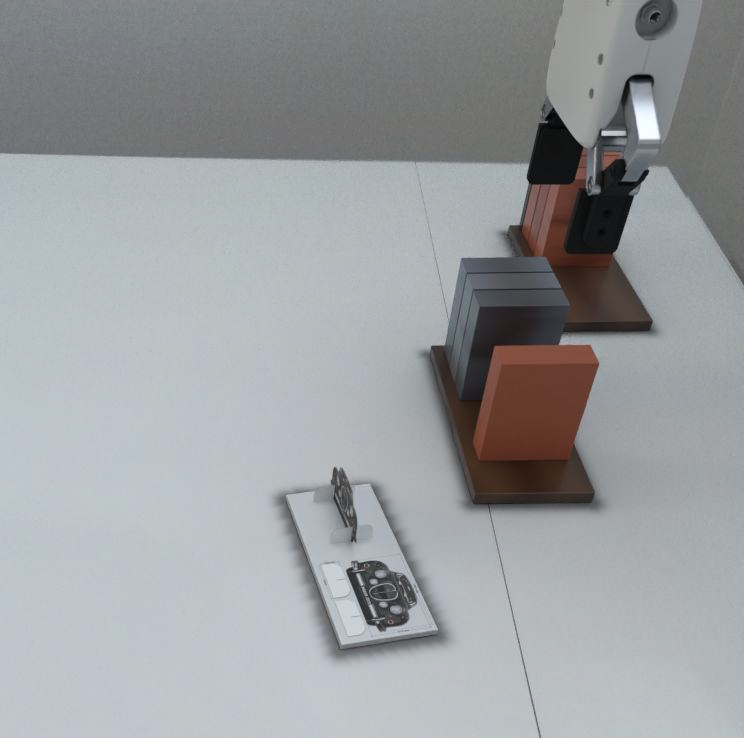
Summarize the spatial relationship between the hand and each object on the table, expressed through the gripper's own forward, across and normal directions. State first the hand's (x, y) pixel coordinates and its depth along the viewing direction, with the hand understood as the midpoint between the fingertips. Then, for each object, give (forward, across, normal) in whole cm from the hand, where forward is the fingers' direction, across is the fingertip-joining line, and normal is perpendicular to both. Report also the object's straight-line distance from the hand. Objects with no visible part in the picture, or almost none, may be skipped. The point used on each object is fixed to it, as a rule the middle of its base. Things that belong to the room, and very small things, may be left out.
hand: (567, 215), depth 64 cm
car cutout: (+21, -12, +13) cm, 27 cm away
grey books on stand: (+20, +4, -1) cm, 21 cm away
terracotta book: (+19, -1, -1) cm, 19 cm away
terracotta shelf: (+20, +27, -13) cm, 36 cm away
